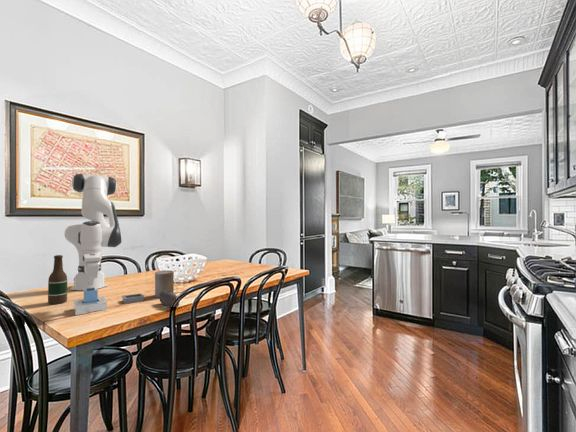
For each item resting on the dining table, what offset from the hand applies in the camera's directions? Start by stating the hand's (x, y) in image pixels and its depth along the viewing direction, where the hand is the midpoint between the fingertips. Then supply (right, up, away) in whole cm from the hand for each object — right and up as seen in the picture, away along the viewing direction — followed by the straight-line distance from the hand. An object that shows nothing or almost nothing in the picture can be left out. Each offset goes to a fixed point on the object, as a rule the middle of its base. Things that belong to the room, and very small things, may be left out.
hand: (90, 284), depth 145 cm
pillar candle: (+25, -12, +25) cm, 37 cm away
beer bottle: (-23, -12, +11) cm, 28 cm away
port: (0, -12, 0) cm, 12 cm away
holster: (+13, -12, +14) cm, 22 cm away
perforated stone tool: (+35, -12, +7) cm, 38 cm away
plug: (0, -11, 0) cm, 11 cm away
